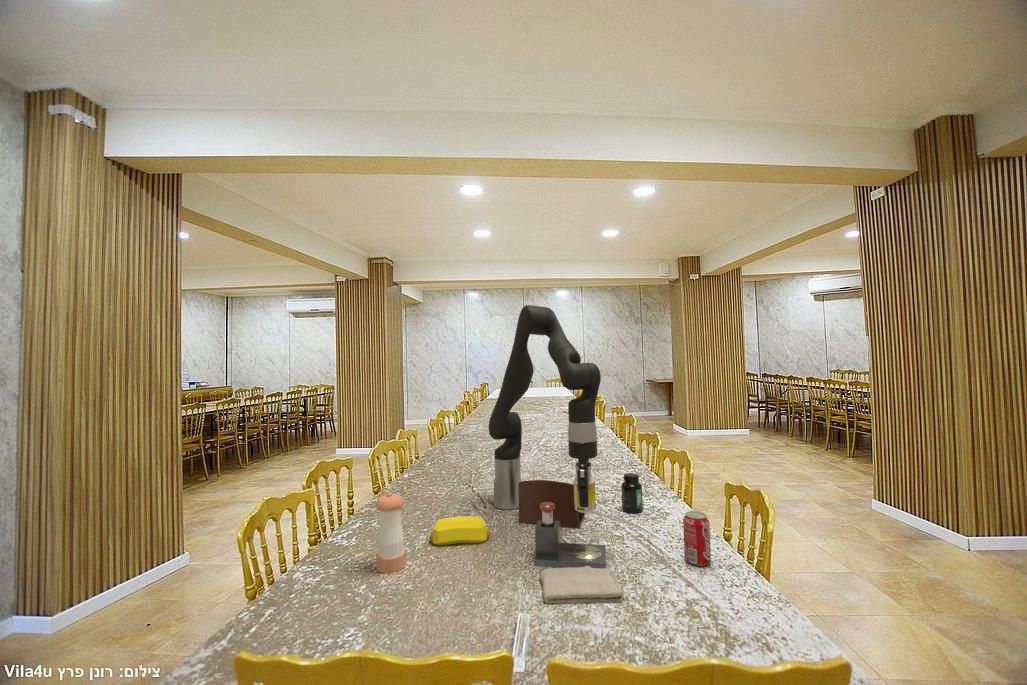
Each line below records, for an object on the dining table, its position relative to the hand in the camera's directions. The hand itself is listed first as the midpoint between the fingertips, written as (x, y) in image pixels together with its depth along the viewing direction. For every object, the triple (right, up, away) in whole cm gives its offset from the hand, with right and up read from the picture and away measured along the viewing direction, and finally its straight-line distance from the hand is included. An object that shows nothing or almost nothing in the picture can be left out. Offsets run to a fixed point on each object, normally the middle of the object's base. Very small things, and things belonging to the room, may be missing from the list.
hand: (584, 502), depth 119 cm
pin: (-10, -9, +2) cm, 13 cm away
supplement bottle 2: (+22, -15, +34) cm, 43 cm away
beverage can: (+28, -14, -4) cm, 32 cm away
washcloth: (-3, -15, -15) cm, 22 cm away
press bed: (-3, -15, 0) cm, 15 cm away
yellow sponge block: (-34, -16, +14) cm, 41 cm away
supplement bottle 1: (0, -2, 0) cm, 2 cm away
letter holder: (-6, -16, +28) cm, 32 cm away
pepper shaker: (-51, -16, -1) cm, 53 cm away
